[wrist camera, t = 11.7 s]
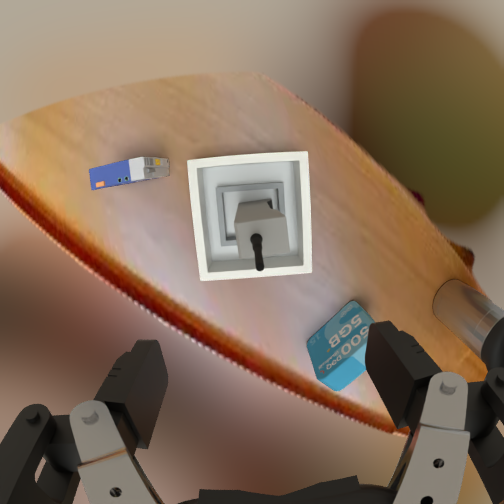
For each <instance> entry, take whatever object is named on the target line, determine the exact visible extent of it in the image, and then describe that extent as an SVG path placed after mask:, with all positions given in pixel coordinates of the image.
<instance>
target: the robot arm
mask: <svg viewBox="0 0 504 504" xmlns="http://www.w3.org/2000/svg"><path fill="white" fill-rule="evenodd" d="M433 312H434V315H435V316H436V317H437V318H438V319H439V320H440V321H441V322H442V323H443V324H444V325H445V326H447V327H448V328H449V329H450V330H451V331H452V332H453V333H454V334H455V335H456V336H457V337H458V338H459V339H460V340H461V341H462V342H463V343H465V344H466V345H467V346H468V347H469V348H470V349H471V350H472V351H473V352H474V353H475V354H476V355H477V356H478V357H479V358H480V359H481V360H482V361H483V362H484V363H485V364H486V367H487V370H488V373H487V375H486V377H485V380H484V381H480V382H470V383H467V382H466V381H465V379H464V378H463V377H461V376H460V375H458V374H456V373H453V372H442V370H441V369H440V368H439V367H438V366H437V364H436V363H435V362H434V361H433V360H432V358H431V357H430V356H429V355H428V354H427V353H426V352H424V349H423V348H422V347H421V346H419V343H418V342H417V341H416V340H415V339H414V337H413V336H411V335H409V334H407V333H406V332H404V331H398V329H397V328H396V327H395V326H394V325H393V324H392V322H391V321H383V322H377V323H371V324H370V326H369V331H368V338H367V345H366V352H365V366H366V370H367V372H368V374H369V376H370V378H371V380H372V381H373V383H374V385H375V387H376V389H377V391H378V393H379V395H380V397H381V399H382V400H383V402H384V404H385V406H386V408H387V410H388V412H389V414H390V416H391V418H392V420H393V422H394V424H395V426H396V428H397V429H399V428H403V427H406V426H409V428H410V432H409V434H408V437H407V440H406V443H405V446H404V448H403V451H402V454H401V457H400V459H399V462H398V464H397V467H396V469H395V471H394V474H393V476H392V478H391V480H390V482H389V484H388V486H387V487H383V486H379V485H372V484H359V482H358V479H357V475H356V476H351V477H347V478H343V479H338V480H332V481H327V482H321V483H318V484H315V485H312V486H310V487H307V488H304V489H301V490H298V491H295V492H292V493H289V494H286V495H282V496H274V495H265V494H259V493H251V492H246V491H241V490H204V489H200V491H199V498H197V499H192V500H188V501H184V502H181V503H178V504H456V503H457V499H458V496H459V492H460V488H461V484H462V480H463V475H464V470H465V464H466V459H467V453H468V454H469V456H470V458H471V460H472V462H473V463H474V465H475V467H476V469H477V471H478V473H479V475H480V477H481V479H482V481H483V483H484V485H485V488H486V490H487V492H488V494H489V496H490V498H491V501H492V503H493V504H504V437H503V436H502V434H501V433H500V431H499V430H498V428H497V427H496V424H497V423H498V421H499V419H500V420H501V422H502V423H503V425H504V310H503V309H501V308H500V307H498V306H497V305H495V304H494V303H492V301H491V300H490V299H488V298H487V297H486V296H484V295H483V294H481V293H479V292H478V291H476V290H475V289H473V288H472V287H470V286H469V285H467V284H464V283H462V282H461V281H459V280H456V279H454V280H450V281H448V282H446V283H445V284H444V285H443V286H442V287H441V288H440V289H439V291H438V292H437V294H436V296H435V299H434V302H433ZM167 386H168V374H167V369H166V366H165V362H164V359H163V355H162V351H161V348H160V345H159V343H158V341H157V340H137V342H136V343H135V345H134V347H133V348H132V350H131V352H126V353H124V354H123V355H122V356H121V357H119V358H118V359H117V360H116V362H115V364H114V365H113V367H112V370H110V372H109V374H108V377H106V379H105V381H104V382H103V384H102V386H101V387H100V389H99V391H98V393H97V394H96V396H95V398H94V400H92V401H86V402H83V403H80V404H79V405H77V406H76V407H75V408H74V409H73V410H72V412H71V413H70V415H56V416H52V415H51V413H50V411H49V410H48V408H47V407H46V406H44V405H42V404H33V405H29V406H27V407H25V408H24V409H23V410H22V411H21V412H20V413H19V415H18V416H17V418H16V420H15V421H14V422H13V424H12V426H11V427H10V429H9V430H8V432H7V434H6V435H5V437H4V439H3V440H2V442H1V444H0V504H72V503H73V500H74V497H75V494H76V491H77V487H78V485H79V482H80V479H81V480H82V483H83V486H84V489H85V492H86V494H87V497H88V499H89V502H90V504H165V503H164V502H163V501H162V499H161V498H160V496H159V495H158V493H157V492H156V490H155V489H154V487H153V486H152V484H151V482H150V481H149V479H148V478H147V476H146V474H145V473H144V471H143V469H142V467H141V466H140V464H139V462H138V460H137V459H136V457H135V455H134V454H135V451H136V448H142V449H148V447H149V444H150V440H151V437H152V433H153V430H154V427H155V424H156V420H157V417H158V414H159V411H160V408H161V405H162V401H163V398H164V395H165V392H166V389H167ZM42 457H43V458H44V459H45V460H46V463H45V465H44V467H43V469H42V472H41V474H40V476H39V478H38V481H37V483H36V482H35V472H36V470H37V467H38V465H39V463H40V461H41V459H42Z"/></svg>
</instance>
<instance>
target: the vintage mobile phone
mask: <svg viewBox="0 0 504 504" xmlns="http://www.w3.org/2000/svg"><path fill="white" fill-rule="evenodd" d="M234 228H235V235H236V241H237V247H238V254H239V259H247V258H254V257H255V266H256V270H257V271H263V270H264V261H263V256H269V255H276V254H283V253H289V252H290V247H289V237H288V228H287V220H286V216H285V215H284V214H282V213H281V212H279V211H278V210H276V209H273V203H272V199H264V200H256V201H249V202H242V203H238V207H237V211H236V216H235V220H234Z"/></svg>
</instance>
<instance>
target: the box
mask: <svg viewBox="0 0 504 504" xmlns="http://www.w3.org/2000/svg"><path fill="white" fill-rule="evenodd" d="M187 166H188V177H189V188H190V198H191V208H192V217H193V226H194V234H195V243H196V251H197V259H198V266H199V273H200V281H210V280H225V279H239V278H253V277H266V276H279V275H292V274H303V273H312V235H311V204H310V182H309V165H308V151H304V152H277V153H259V154H245V155H233V156H222V157H212V158H202V159H194V160H187ZM264 199H272V203H273V209H276V210H278V211H279V212H281V213H282V214H284V215H285V216H286V220H287V228H288V237H289V247H290V252H289V253H283V254H276V255H269V256H263V261H264V270H263V271H257V270H256V266H255V257H254V258H247V259H239V254H238V247H237V241H236V235H235V228H234V220H235V216H236V211H237V207H238V203H242V202H249V201H256V200H264Z"/></svg>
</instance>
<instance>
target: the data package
mask: <svg viewBox="0 0 504 504" xmlns="http://www.w3.org/2000/svg"><path fill="white" fill-rule="evenodd" d="M371 323H375V322H374V320H373V319H372V318H371V316H370V315H369V314H368V313H367V312H366V311H365V310H364V309H363V308H362V307H361V306H360V305H359V304H358V303H357V302H356V301H351V302H349V303H348V304H347V305H345V306H344V307H343V308H342V309H341V310H340V311H339V312H338V313H337V314H336V315H335V316H334V317H333V318H332V319H331V320H330V321H329V322H327V323H326V324H325V325H324V326H323V327H322V328H321V329H320V330H319V331H318V332H317V333H315V334H314V335H313V336H312V337H311V338H310V339H309V341H308V343H307V348H308V352H309V355H310V358H311V361H312V364H313V367H314V371H315V374H316V377H317V379H318V380H319V381H321V382H322V383H324V384H325V385H326V386H328V387H329V388H331V389H332V390H334V391H340V390H342V389H344V388H345V387H346V386H347V385H349V384H350V383H351V382H352V381H354V380H355V379H356V378H357V377H358V376H360V375H361V374H362V373H363V372H364V371H366V366H365V352H366V345H367V338H368V331H369V326H370V324H371Z"/></svg>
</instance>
